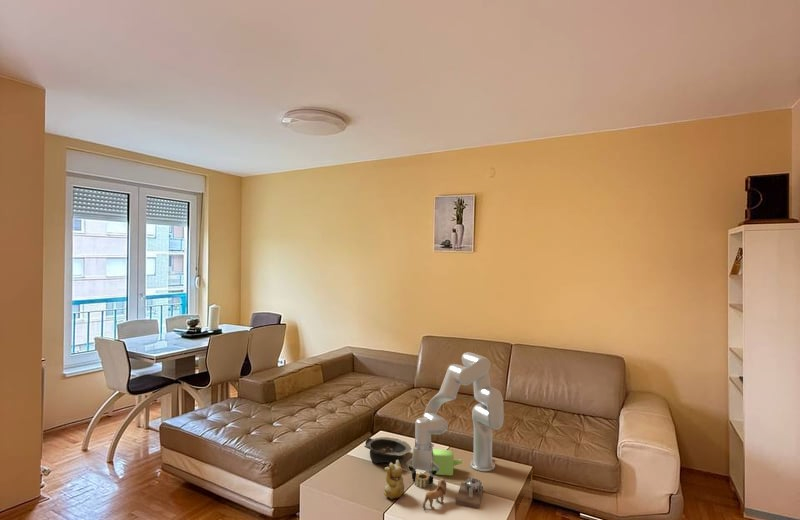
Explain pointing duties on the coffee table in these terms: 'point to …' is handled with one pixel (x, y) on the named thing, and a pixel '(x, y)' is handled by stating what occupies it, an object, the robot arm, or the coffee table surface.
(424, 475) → the brass gear
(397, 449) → the stone bowl
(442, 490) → the lion figurine
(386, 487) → the decorative figurine
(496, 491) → the coffee table surface
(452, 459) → the green square teapot
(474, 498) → the gear board
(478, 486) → the grey gear
